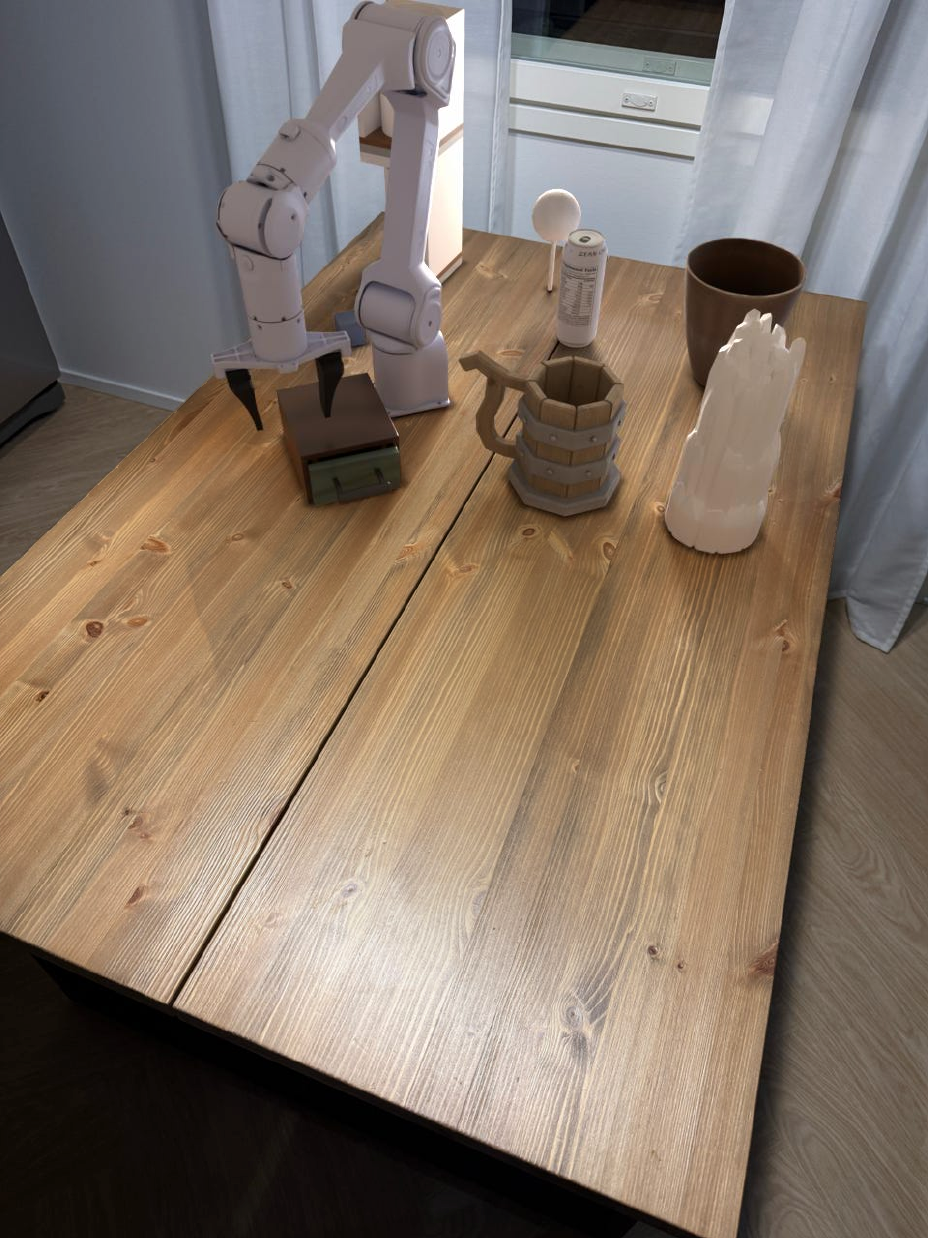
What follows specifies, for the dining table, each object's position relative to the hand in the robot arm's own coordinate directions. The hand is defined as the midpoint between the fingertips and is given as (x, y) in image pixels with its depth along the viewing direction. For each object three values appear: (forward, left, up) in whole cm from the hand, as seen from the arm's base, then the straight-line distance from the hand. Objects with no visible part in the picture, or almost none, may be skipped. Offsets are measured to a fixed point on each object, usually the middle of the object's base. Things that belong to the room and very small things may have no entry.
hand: (292, 418), depth 100 cm
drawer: (-6, +1, -9) cm, 10 cm away
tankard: (-27, +7, -10) cm, 30 cm away
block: (-13, -29, -10) cm, 34 cm away
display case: (-28, -45, -10) cm, 54 cm away
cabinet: (-5, -3, -10) cm, 12 cm away
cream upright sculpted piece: (-43, +22, -10) cm, 50 cm away
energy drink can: (-44, -19, -10) cm, 49 cm away
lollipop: (-46, -33, -10) cm, 58 cm away
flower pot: (-59, -4, -10) cm, 60 cm away
